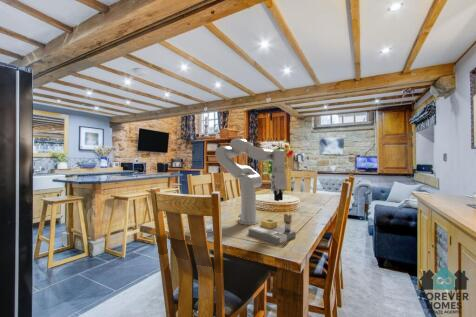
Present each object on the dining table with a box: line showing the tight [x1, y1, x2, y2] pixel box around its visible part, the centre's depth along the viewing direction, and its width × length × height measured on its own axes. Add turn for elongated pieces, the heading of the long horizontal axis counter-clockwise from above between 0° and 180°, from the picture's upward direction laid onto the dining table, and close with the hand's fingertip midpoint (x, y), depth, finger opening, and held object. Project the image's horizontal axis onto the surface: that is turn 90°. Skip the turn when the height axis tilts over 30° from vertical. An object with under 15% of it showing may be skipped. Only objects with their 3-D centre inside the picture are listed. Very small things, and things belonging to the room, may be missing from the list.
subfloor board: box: [247, 224, 297, 245], centre depth 126 cm, size 20×16×3 cm
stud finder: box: [260, 218, 278, 229], centre depth 133 cm, size 7×6×3 cm
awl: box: [283, 213, 293, 232], centre depth 124 cm, size 4×4×9 cm
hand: (278, 200), depth 138 cm, fingers open, 2 cm apart
